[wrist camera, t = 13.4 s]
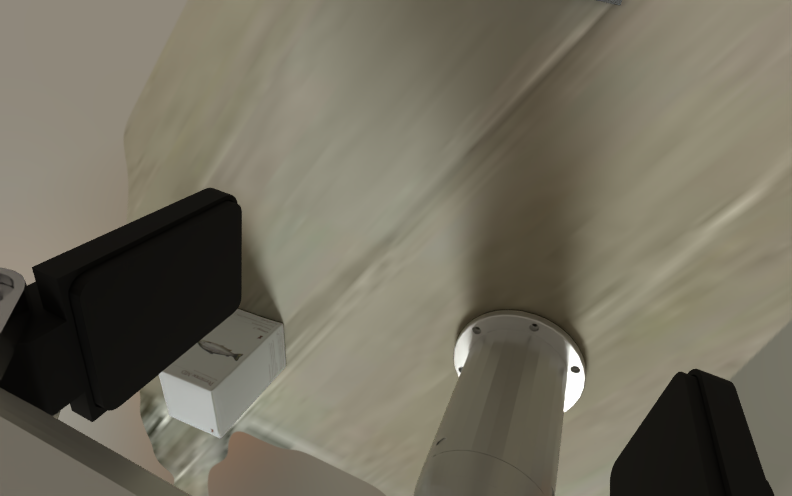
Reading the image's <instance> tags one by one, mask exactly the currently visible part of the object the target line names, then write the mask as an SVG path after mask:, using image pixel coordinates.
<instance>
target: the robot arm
mask: <svg viewBox="0 0 792 496" xmlns="http://www.w3.org/2000/svg"><path fill="white" fill-rule="evenodd" d="M241 242H242V211H241V207H240V206H239V205H238V204H237V200H236V198H235V197H234V196H233V195H230V194H227V193H224V192H222V191H219V190H216V189H214V188H207V189H204V190H202V191H200V192H197V193H195V194H193V195H191V196H188V197H186V198H184V199H182V200H180V201H177V202H175V203H173V204H171V205H169V206H166V207H164V208H162V209H160V210H158V211H155V212H153V213H151V214H149V215H146V216H144V217H142V218H140V219H138V220H135V221H133V222H131V223H129V224H127V225H124V226H122V227H120V228H118V229H115V230H113V231H111V232H109V233H107V234H105V235H102V236H100V237H98V238H96V239H93V240H91V241H89V242H87V243H85V244H82V245H80V246H78V247H76V248H74V249H72V250H69V251H67V252H65V253H62V254H60V255H58V256H56V257H54V258H51V259H49V260H47V261H45V262H43V263H40V264H38V265H36V266H34V267H32V269H33V273H34V276H35V280H36V282H34V283H32V284H30V285H28V286H27V285H26V282H25V280H24V278H23V276H22V275H21V274H19V273H17V272H16V271H13V270H9V269H5V268H0V496H191V495H189V494H188V493H186V492H184V491H183V490H181V489H179V488H177V487H176V486H174V485H172V484H170V483H169V482H167V481H165V480H163V479H162V478H160V477H158V476H156V475H154V474H153V473H151V472H149V471H148V470H146V469H144V468H142V467H141V466H139V465H137V464H135V463H134V462H132V461H130V460H128V459H127V458H124V457H123V456H121V455H120V454H118V453H116V452H114V451H112V450H111V449H109V448H107V447H105V446H104V445H102V444H100V443H98V442H97V441H95V440H93V439H91V438H90V437H88V436H86V435H84V434H83V433H81V432H79V431H77V430H76V429H74V428H72V427H70V426H68V425H67V424H65V423H63V422H61V421H60V420H58V417H59V414H60V410H61V409H63V408H64V407H65V406H67V405H68V404H69V403H70V405H71V408H72V411H74V412H75V413H77V414H79V415H81V416H83V417H84V418H86V419H88V420H90V421H91V422H93V421H95V420H96V419H97V418H98V417H100V416H101V415H102V414H103V413H105V412H106V411H107V410H114V409H116V408H118V407H119V406H121V405H122V404H123V403H124V402H126V401H127V400H128V399H129V398H130V397H132V396H133V395H134V394H135V393H136V392H138V391H139V390H140V389H141V388H143V387H144V386H145V385H146V384H148V383H149V382H150V381H151V380H152V379H154V378H155V377H156V376H157V375H159V374H160V373H161V372H162V371H163V370H165V369H166V368H167V367H168V366H170V365H171V364H172V363H173V362H174V361H176V360H177V359H178V358H179V357H181V356H182V355H183V354H184V353H185V352H187V351H188V350H189V349H190V348H192V347H193V346H194V345H195V344H196V343H198V342H199V341H200V340H201V339H203V338H204V337H205V336H206V335H207V334H209V333H210V332H211V331H212V330H214V329H215V328H216V327H217V326H218V325H220V324H221V323H222V322H223V321H225V320H226V319H227V318H228V317H229V316H231V315H232V314H233V313H234V312H235V311H236V310H237V308H238V307H239V305H240V302H241ZM453 359H454V365H455V369H456V372H457V374H458V377H459V378H458V381H457V383H456V386H455V388H454V391H453V393H452V396H451V398H450V401H449V403H448V406H447V408H446V411H445V413H444V416H443V418H442V421H441V423H440V426H439V428H438V431H437V433H436V436H435V438H434V441H433V443H432V446H431V448H430V451H429V453H428V456H427V458H426V461H425V463H424V466H423V468H422V471H421V473H420V476H419V478H418V481H417V484H416V487H415V491H414V496H555V489H556V480H557V471H558V462H559V453H560V443H561V434H562V425H563V416H564V412H565V411H567V410H568V409H569V408H571V407H572V406H573V405H574V404H575V403H576V402H577V401H578V399H579V398H580V397H581V395H582V392H583V389H584V387H585V378H586V367H585V362H584V359H583V355H582V353H581V352H580V350H579V348H578V346H577V344H576V343H575V342H574V341H573V340H572V338H571V337H570V336H569V335H568V334H567V333H566V332H565V331H563V330H562V329H561V328H560V327H559V326H557V325H555V324H554V323H552V322H551V321H549V320H547V319H545V318H542V317H540V316H538V315H535V314H531V313H527V312H523V311H515V310H500V311H493V312H489V313H485V314H483V315H481V316H479V317H477V318H475V319H473V320H472V321H471V322H469V323H468V324H467V325H466V326H465V328H464V329H463V330H462V331H461V333H460V335H459V337H458V339H457V341H456V344H455V347H454V356H453ZM610 496H774V493H773V491H772V489H771V487H770V485H769V483H768V481H767V480H766V478H765V475H764V472H763V469H762V467H761V464H760V460H759V457H758V454H757V452H756V448H755V445H754V442H753V439H752V436H751V433H750V430H749V427H748V424H747V421H746V418H745V415H744V412H743V409H742V406H741V403H740V400H739V397H738V394H737V391H736V388H735V386H734V385H733V383H732V382H730V381H728V380H725V379H723V378H720V377H717V376H715V375H712V374H709V373H707V372H704V371H701V370H698V369H693V370H691V371H690V372H689V373H688V374H686V373H683V372H678V373H677V374H676V375H675V376H674V377H673V379H672V380H671V381H670V383H669V384H668V386H667V387H666V389H665V390H664V392H663V393H662V394H661V396H660V397H659V399H658V400H657V402H656V403H655V405H654V406H653V408H652V409H651V410H650V412H649V413H648V415H647V416H646V418H645V419H644V421H643V422H642V424H641V425H640V426H639V428H638V429H637V431H636V432H635V434H634V435H633V437H632V438H631V440H630V441H629V442H628V444H627V445H626V447H625V448H624V450H623V451H622V453H621V454H620V455H619V457H618V458H617V460H616V462H615V463H614V466H613V468H612V472H611V477H610Z"/></svg>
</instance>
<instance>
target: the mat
mask: <svg viewBox="0 0 792 496" xmlns="http://www.w3.org/2000/svg"><path fill="white" fill-rule="evenodd" d="M597 1H602V2H607V3H612V4H616V5H621V2H622V0H597Z"/></svg>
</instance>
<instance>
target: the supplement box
mask: <svg viewBox="0 0 792 496" xmlns="http://www.w3.org/2000/svg"><path fill="white" fill-rule="evenodd" d="M285 367H286V357H285V341H284V327H283V323H280V322H276V321H272V320H269V319H266V318H263V317H260V316H257V315H254V314H251V313H248V312H245V311H243V310H240V309H237V310H236V311H235V312H234V313H233V314H232V315H231V316H229V317H228V318H227V319H226V320H225V321H223V322H222V323H221V324H220V325H218V326H217V327H216V328H215V329H214V330H212V331H211V332H210V333H209V334H207V335H206V336H205V337H204V338H203V339H201V340H200V341H199V342H198V343H196V344H195V345H194V346H193V347H192V348H190V349H189V350H188V351H187V352H185V353H184V354H183V355H182V356H181V357H179V358H178V359H177V360H176V361H174V362H173V363H172V364H171V365H170V366H168V367H167V368H166V369H165V370H163V371H162V372H161V373H160V374H159V377H160V382H161V385H162V389H163V393H164V397H165V401H166V404H167V408H168V413H169V415H170V416H171V417H173V418H175V419H178V420H180V421H182V422H185V423H187V424H189V425H191V426H194V427H196V428H198V429H200V430H203V431H205V432H207V433H210V434H212V435H214V436H216V437H218V438H222V437H223V435H224V434H225V433H226V432H227V431H228V430H229V429H230V428H231V427H232V425H233V424H234V423H235V422H236V421H237V420H238V419H239V418H240V417H241V415H242V414H243V413H244V412H245V411H246V410H247V409H248V408H249V407H250V406H251V404H252V403H253V402H254V401H255V400H256V399H257V398H258V397H259V396H260V395H261V393H262V392H263V391H264V390H265V389H266V388H267V387H268V386H269V385H270V384H271V382H272V381H273V380H274V379H275V378H276V377H277V376H278V375H279V374H280V373H281V371H282V370H283V369H284V368H285Z"/></svg>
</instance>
